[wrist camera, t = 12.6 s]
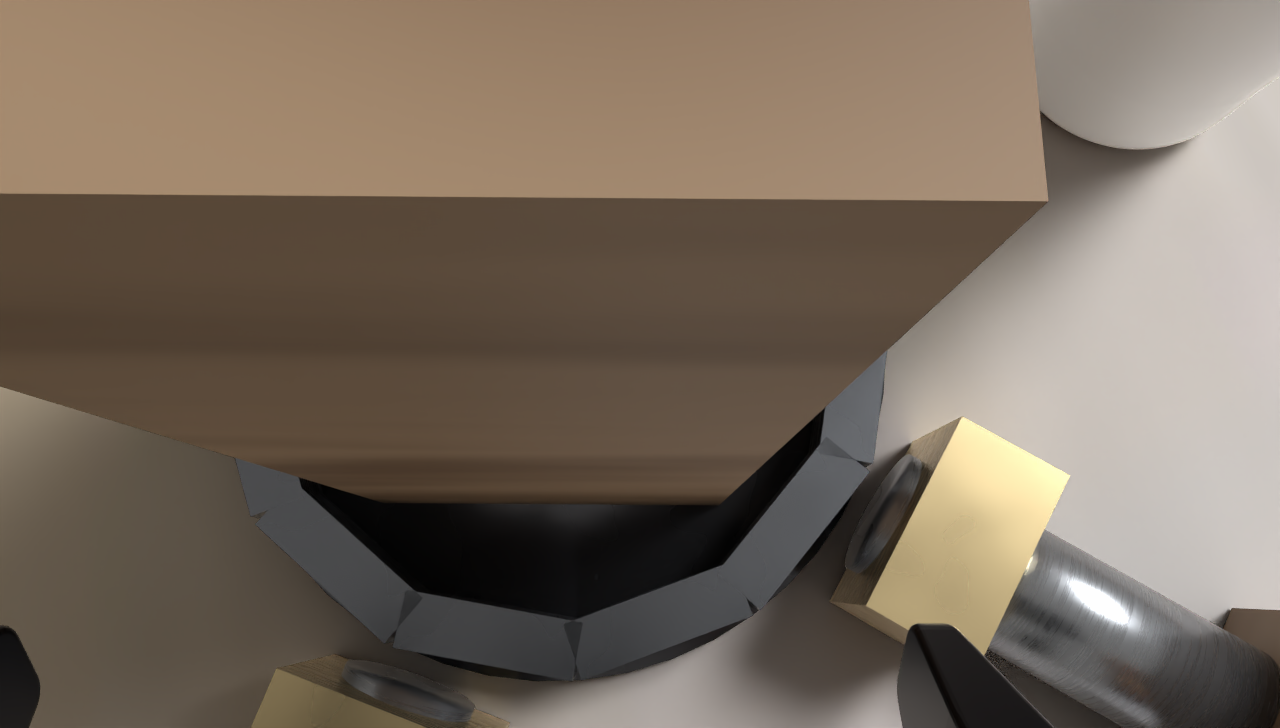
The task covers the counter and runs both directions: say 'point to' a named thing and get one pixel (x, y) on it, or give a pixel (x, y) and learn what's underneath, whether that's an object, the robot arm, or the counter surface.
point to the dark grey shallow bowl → (574, 557)
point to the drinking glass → (1151, 65)
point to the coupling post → (496, 225)
